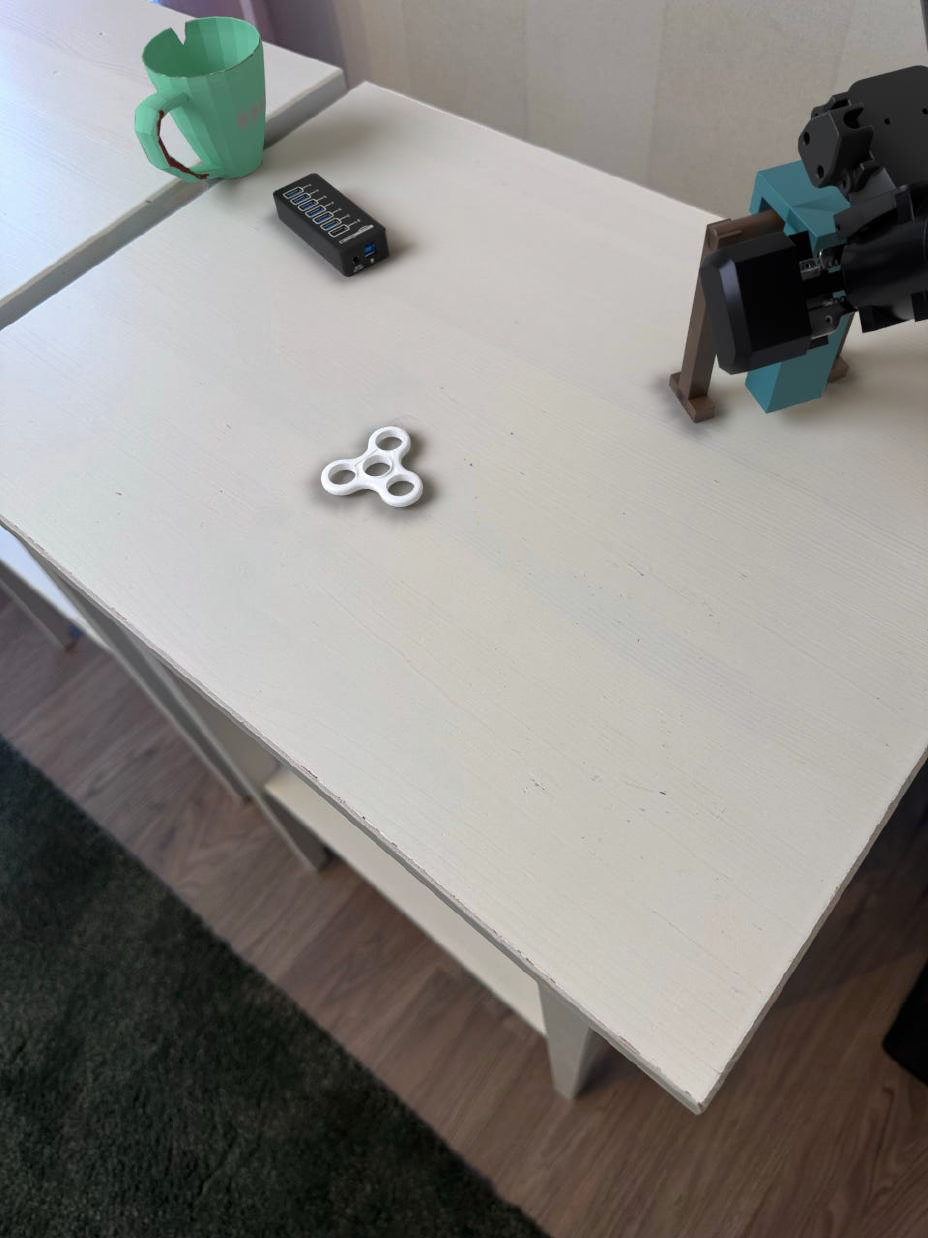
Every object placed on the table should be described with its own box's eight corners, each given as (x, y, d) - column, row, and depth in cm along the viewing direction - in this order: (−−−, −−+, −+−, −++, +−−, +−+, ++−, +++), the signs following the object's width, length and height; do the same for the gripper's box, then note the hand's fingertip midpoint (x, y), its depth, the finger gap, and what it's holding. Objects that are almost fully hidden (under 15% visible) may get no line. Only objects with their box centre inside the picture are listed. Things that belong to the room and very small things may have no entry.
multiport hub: (320, 195, 78) (314, 170, 76) (391, 254, 73) (387, 228, 71) (276, 216, 77) (270, 191, 75) (346, 277, 72) (341, 252, 70)
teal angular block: (821, 397, 59) (884, 217, 48) (766, 414, 59) (817, 236, 48) (771, 334, 63) (819, 153, 52) (718, 349, 62) (756, 170, 52)
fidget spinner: (392, 425, 63) (391, 417, 62) (455, 474, 60) (454, 466, 59) (314, 481, 60) (311, 473, 60) (375, 534, 58) (373, 526, 57)
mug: (218, 125, 85) (183, 9, 77) (308, 142, 83) (282, 23, 74) (131, 215, 79) (82, 99, 70) (226, 236, 76) (187, 118, 68)
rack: (846, 377, 62) (914, 196, 51) (693, 423, 61) (729, 248, 50) (816, 341, 65) (875, 159, 53) (668, 384, 63) (697, 208, 52)
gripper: (1144, -8, 39) (910, 120, 54) (754, 92, 37) (624, 197, 52) (1169, 254, 42) (938, 307, 57) (805, 362, 40) (666, 387, 55)
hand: (796, 296), depth 55 cm, fingers closed on teal angular block, 4 cm apart
